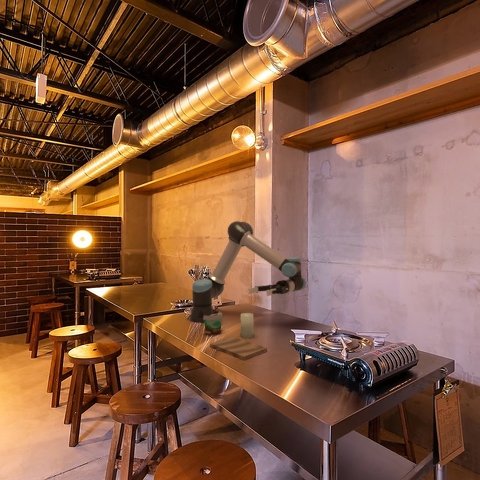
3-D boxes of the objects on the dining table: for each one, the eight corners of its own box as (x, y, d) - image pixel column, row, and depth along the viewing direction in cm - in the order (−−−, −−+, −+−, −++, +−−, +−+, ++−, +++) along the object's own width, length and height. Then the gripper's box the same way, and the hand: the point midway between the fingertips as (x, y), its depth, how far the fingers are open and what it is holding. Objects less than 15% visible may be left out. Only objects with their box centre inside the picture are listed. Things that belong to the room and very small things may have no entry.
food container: (212, 337, 158) (212, 317, 157) (203, 335, 161) (203, 315, 161) (227, 331, 167) (227, 312, 167) (219, 329, 171) (218, 310, 171)
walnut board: (210, 346, 144) (210, 343, 144) (232, 339, 154) (232, 336, 154) (244, 360, 128) (244, 356, 128) (267, 351, 138) (266, 347, 138)
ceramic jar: (238, 336, 159) (238, 314, 159) (247, 333, 164) (246, 312, 163) (247, 339, 155) (247, 316, 154) (256, 336, 159) (256, 314, 159)
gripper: (302, 295, 170) (275, 301, 156) (269, 291, 189) (242, 297, 175) (301, 281, 170) (274, 286, 156) (268, 278, 189) (241, 283, 175)
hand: (257, 292), depth 165 cm, fingers open, 13 cm apart
